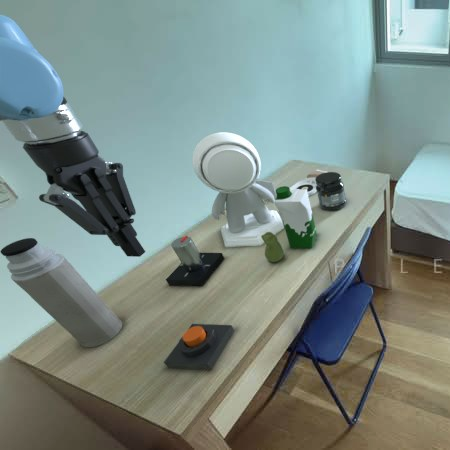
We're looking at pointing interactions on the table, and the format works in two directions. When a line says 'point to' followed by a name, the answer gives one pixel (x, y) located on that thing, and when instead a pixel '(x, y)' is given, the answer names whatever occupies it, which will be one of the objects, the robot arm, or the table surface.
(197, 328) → the power button
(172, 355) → the black button base
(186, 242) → the timer knob
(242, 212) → the white cartoon figure
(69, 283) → the thermos bottle
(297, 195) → the milk carton
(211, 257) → the timer panel
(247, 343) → the table surface
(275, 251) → the pear
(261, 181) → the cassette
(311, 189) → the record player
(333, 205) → the supplement container
